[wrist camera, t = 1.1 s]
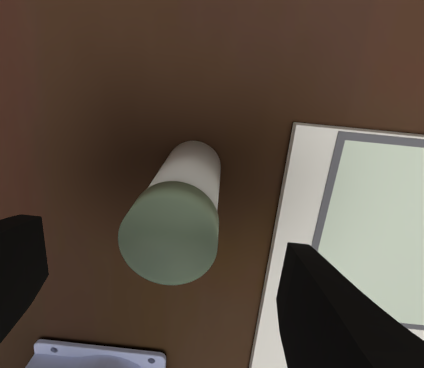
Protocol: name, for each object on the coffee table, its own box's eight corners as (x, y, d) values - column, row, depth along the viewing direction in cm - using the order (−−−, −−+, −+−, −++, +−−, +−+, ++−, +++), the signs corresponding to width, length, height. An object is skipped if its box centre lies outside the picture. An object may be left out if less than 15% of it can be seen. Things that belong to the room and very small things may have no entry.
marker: (164, 190, 18) (119, 279, 11) (166, 136, 17) (116, 193, 9) (219, 196, 18) (212, 290, 11) (225, 141, 17) (222, 204, 9)
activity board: (248, 369, 23) (250, 405, 20) (293, 122, 16) (304, 132, 14) (441, 390, 23) (467, 429, 20) (566, 148, 16) (626, 163, 14)
